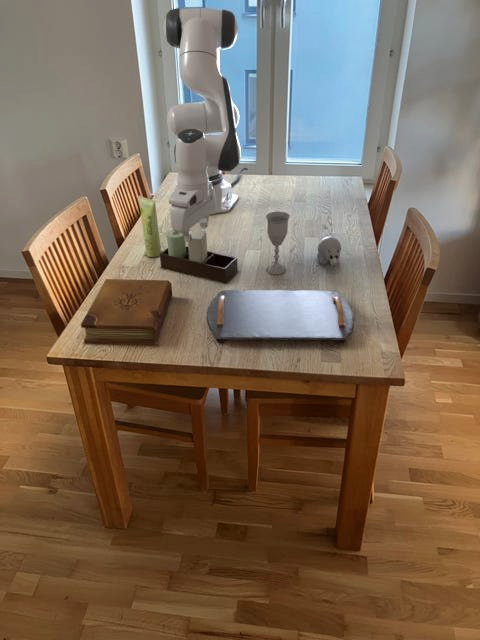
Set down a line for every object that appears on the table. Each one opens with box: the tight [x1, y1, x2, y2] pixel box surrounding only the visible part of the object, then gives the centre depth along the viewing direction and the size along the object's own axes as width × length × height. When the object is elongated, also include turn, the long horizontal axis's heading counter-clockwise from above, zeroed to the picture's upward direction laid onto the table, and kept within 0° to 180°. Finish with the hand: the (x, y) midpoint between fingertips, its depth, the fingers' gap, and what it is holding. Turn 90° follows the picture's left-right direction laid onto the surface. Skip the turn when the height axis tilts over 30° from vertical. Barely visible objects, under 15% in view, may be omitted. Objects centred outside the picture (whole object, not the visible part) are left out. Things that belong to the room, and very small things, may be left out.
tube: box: [138, 195, 162, 258], centre depth 167 cm, size 6×5×20 cm
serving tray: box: [205, 289, 355, 345], centre depth 138 cm, size 39×23×6 cm, turn 89°
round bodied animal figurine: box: [316, 236, 342, 268], centre depth 163 cm, size 7×12×8 cm, turn 3°
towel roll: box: [166, 229, 187, 258], centre depth 163 cm, size 6×6×11 cm
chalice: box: [265, 211, 291, 275], centre depth 158 cm, size 7×7×18 cm
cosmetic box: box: [187, 229, 208, 263], centre depth 160 cm, size 6×4×12 cm
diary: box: [80, 278, 173, 346], centre depth 140 cm, size 23×19×6 cm
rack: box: [159, 245, 238, 285], centre depth 162 cm, size 8×23×5 cm, turn 64°
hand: (196, 234), depth 157 cm, fingers open, 8 cm apart
